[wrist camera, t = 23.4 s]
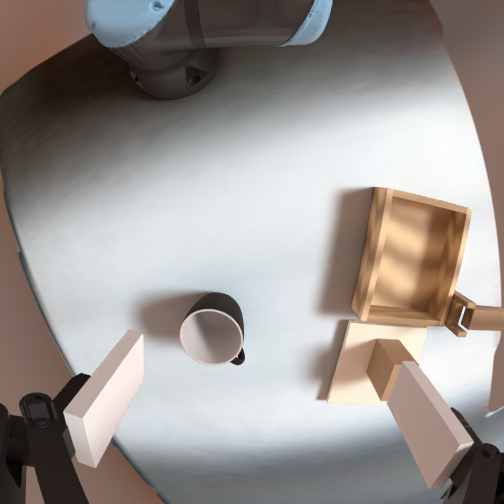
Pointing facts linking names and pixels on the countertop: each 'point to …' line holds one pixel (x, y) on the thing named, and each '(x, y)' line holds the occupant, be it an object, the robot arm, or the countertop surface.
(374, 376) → the lid
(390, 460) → the countertop surface
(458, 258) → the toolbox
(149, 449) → the countertop surface
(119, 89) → the countertop surface
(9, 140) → the countertop surface
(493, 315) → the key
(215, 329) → the mug
